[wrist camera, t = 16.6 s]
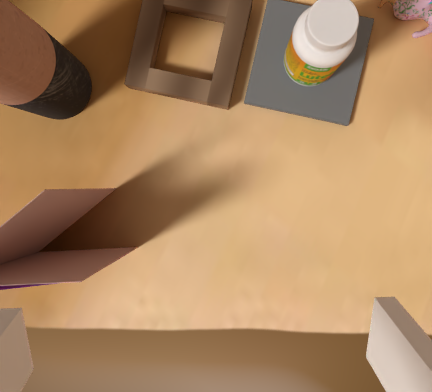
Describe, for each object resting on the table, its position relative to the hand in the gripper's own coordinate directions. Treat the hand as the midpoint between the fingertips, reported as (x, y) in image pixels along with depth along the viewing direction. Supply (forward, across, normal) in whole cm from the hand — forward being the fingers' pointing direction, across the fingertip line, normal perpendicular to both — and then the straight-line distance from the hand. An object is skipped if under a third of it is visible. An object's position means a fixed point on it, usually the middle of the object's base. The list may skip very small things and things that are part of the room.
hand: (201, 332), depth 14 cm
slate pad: (+30, +11, +10) cm, 33 cm away
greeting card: (+27, -13, -7) cm, 31 cm away
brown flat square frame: (+31, -1, +12) cm, 33 cm away
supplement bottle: (+29, +11, +10) cm, 33 cm away
